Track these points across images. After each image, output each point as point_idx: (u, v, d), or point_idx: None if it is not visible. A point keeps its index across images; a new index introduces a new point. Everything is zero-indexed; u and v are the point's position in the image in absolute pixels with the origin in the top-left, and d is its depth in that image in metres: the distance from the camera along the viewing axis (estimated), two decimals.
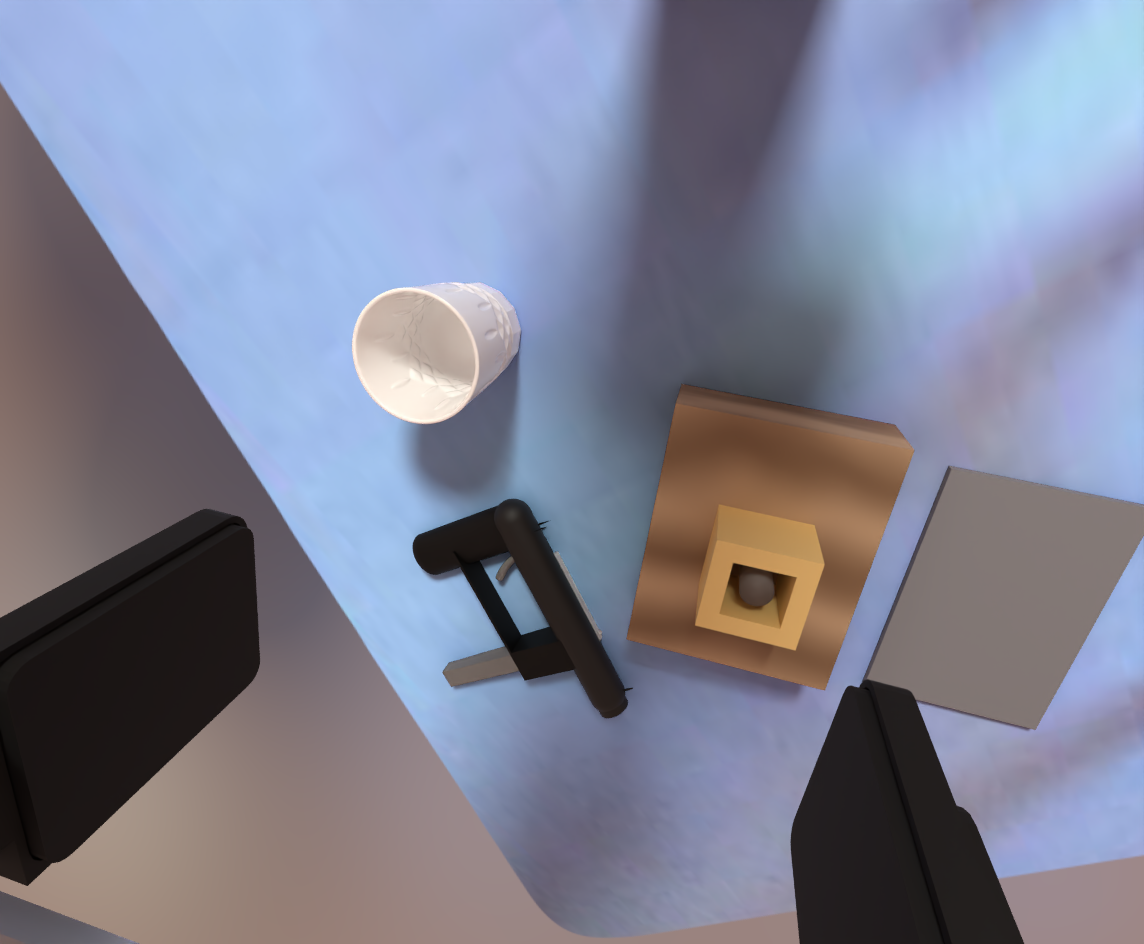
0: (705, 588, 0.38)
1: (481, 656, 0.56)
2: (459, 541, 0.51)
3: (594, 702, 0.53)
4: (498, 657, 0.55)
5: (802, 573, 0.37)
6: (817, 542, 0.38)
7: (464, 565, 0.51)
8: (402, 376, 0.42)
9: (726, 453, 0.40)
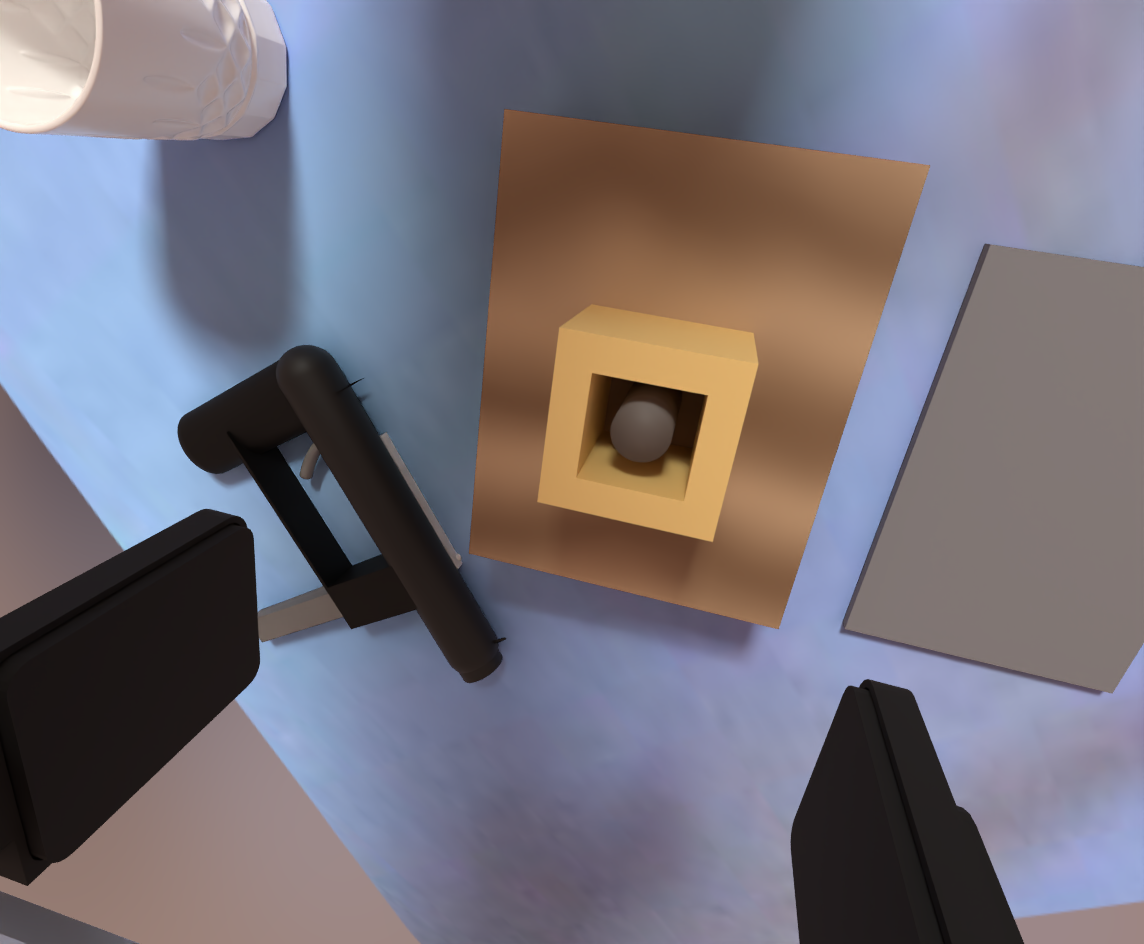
0: (548, 429, 0.21)
1: (299, 598, 0.39)
2: (232, 414, 0.33)
3: (448, 659, 0.36)
4: (317, 596, 0.38)
5: (718, 386, 0.19)
6: (752, 345, 0.21)
7: (246, 454, 0.34)
8: (48, 87, 0.24)
9: (596, 203, 0.23)
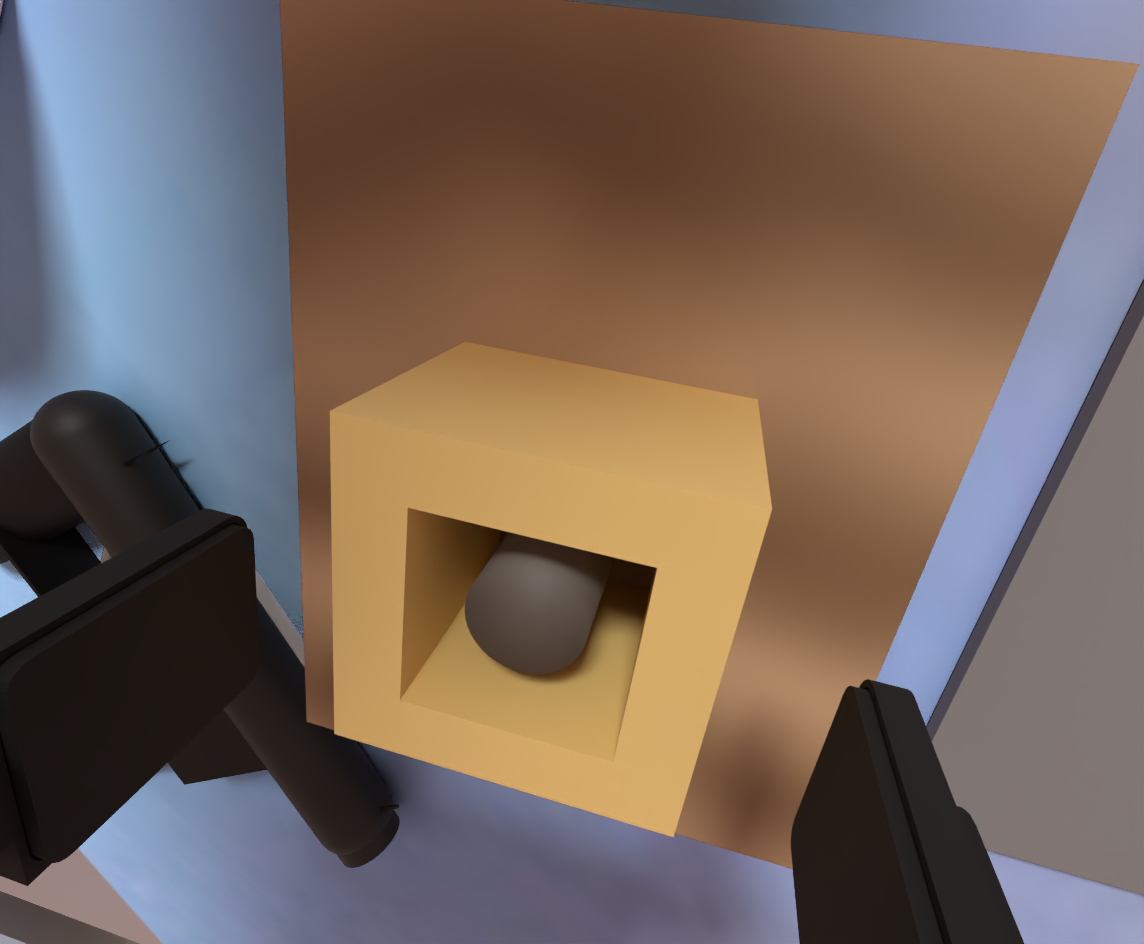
0: (336, 608, 0.10)
1: None
2: None
3: (316, 836, 0.25)
4: None
5: (679, 550, 0.08)
6: (757, 438, 0.10)
7: (15, 545, 0.23)
8: None
9: (462, 155, 0.12)
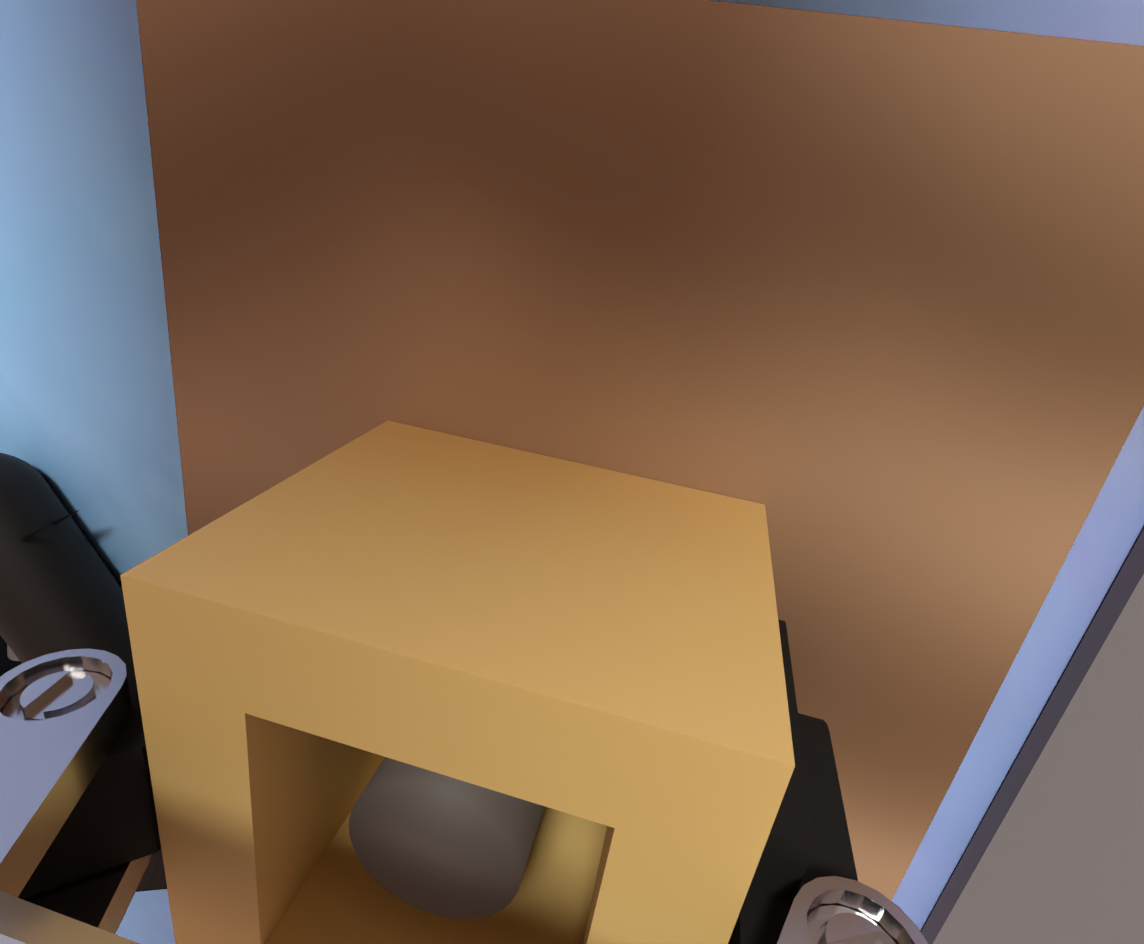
0: (164, 830, 0.07)
1: None
2: None
3: None
4: None
5: (647, 808, 0.05)
6: (766, 586, 0.07)
7: None
8: None
9: (375, 185, 0.09)
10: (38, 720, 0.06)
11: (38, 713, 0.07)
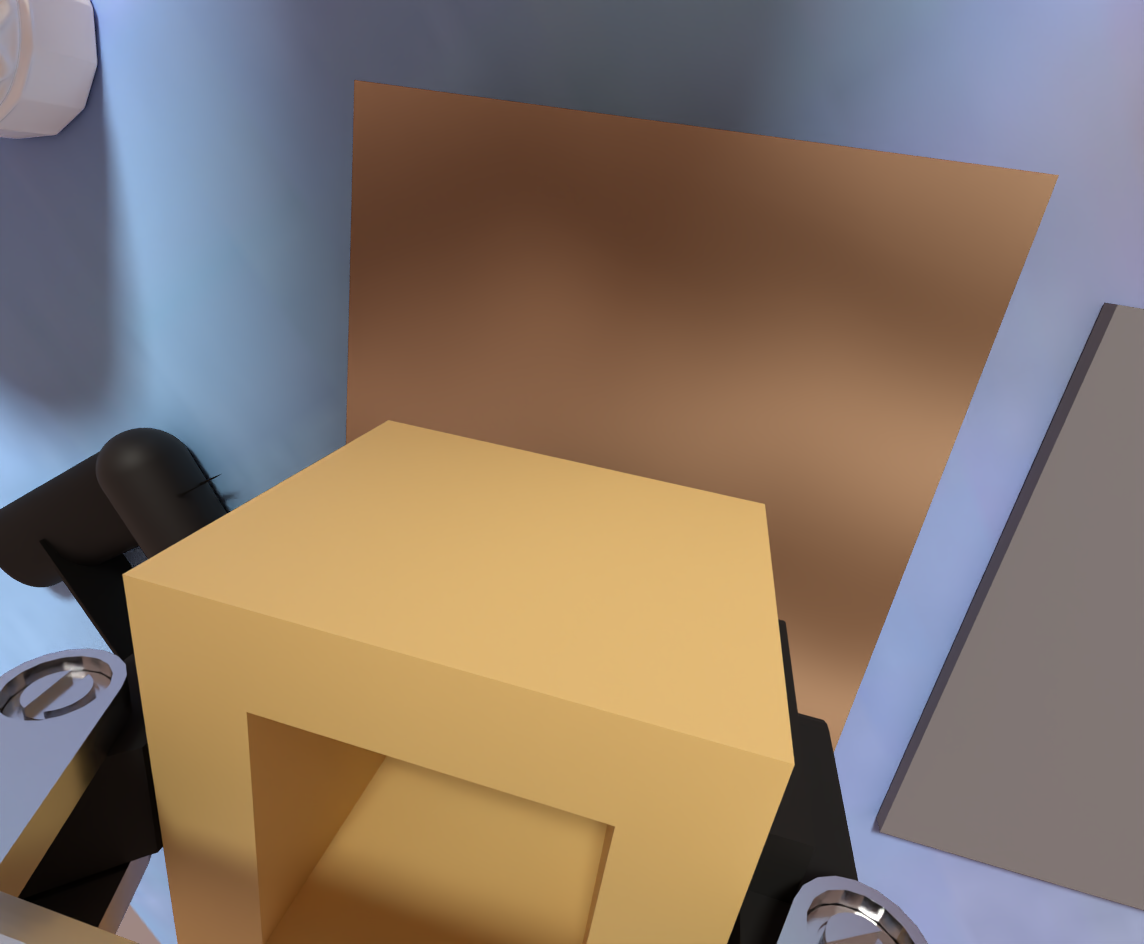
0: (166, 828, 0.07)
1: None
2: (46, 518, 0.24)
3: None
4: None
5: (647, 806, 0.05)
6: (765, 586, 0.07)
7: (69, 568, 0.25)
8: None
9: (503, 231, 0.14)
10: (38, 720, 0.06)
11: (38, 713, 0.07)
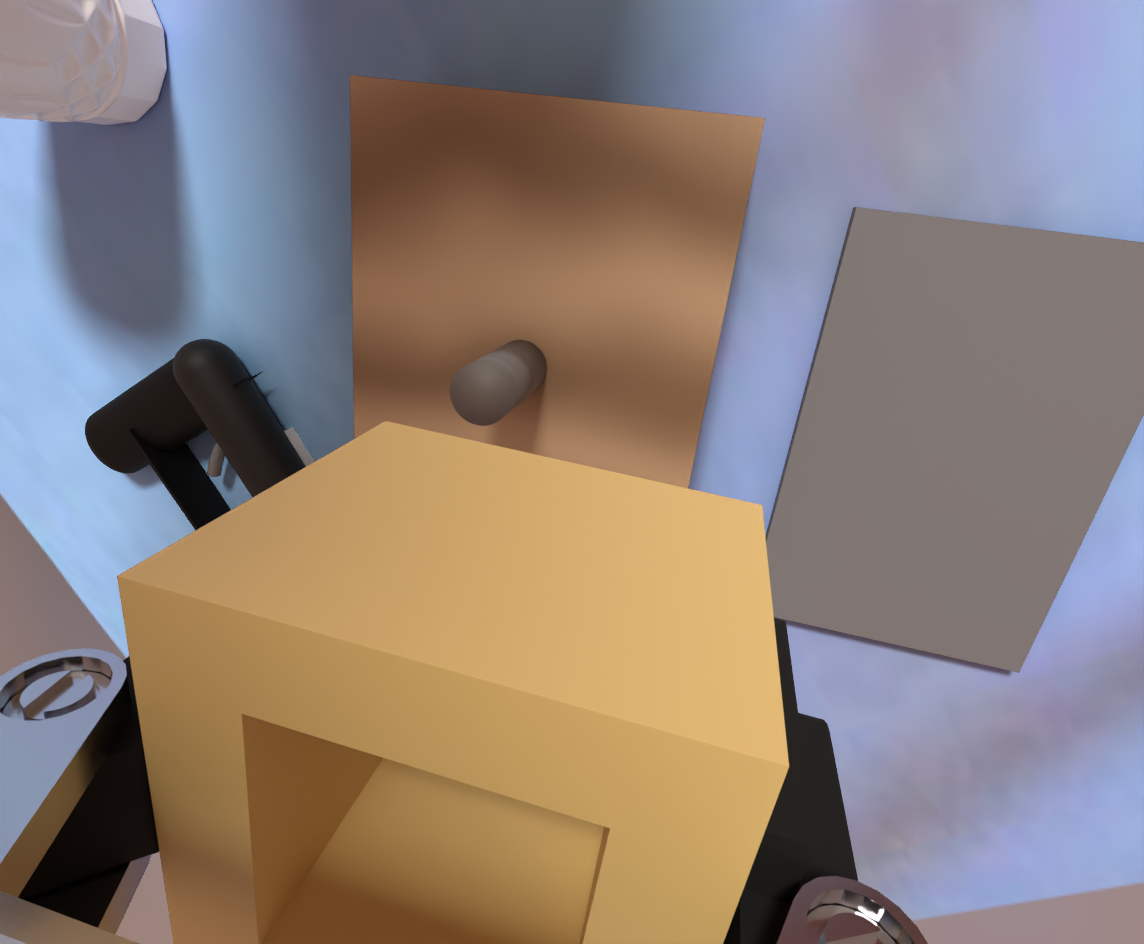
0: (162, 829, 0.07)
1: None
2: (134, 411, 0.33)
3: None
4: None
5: (642, 809, 0.05)
6: (762, 587, 0.07)
7: (151, 451, 0.34)
8: None
9: (447, 169, 0.23)
10: (38, 720, 0.06)
11: (38, 713, 0.07)
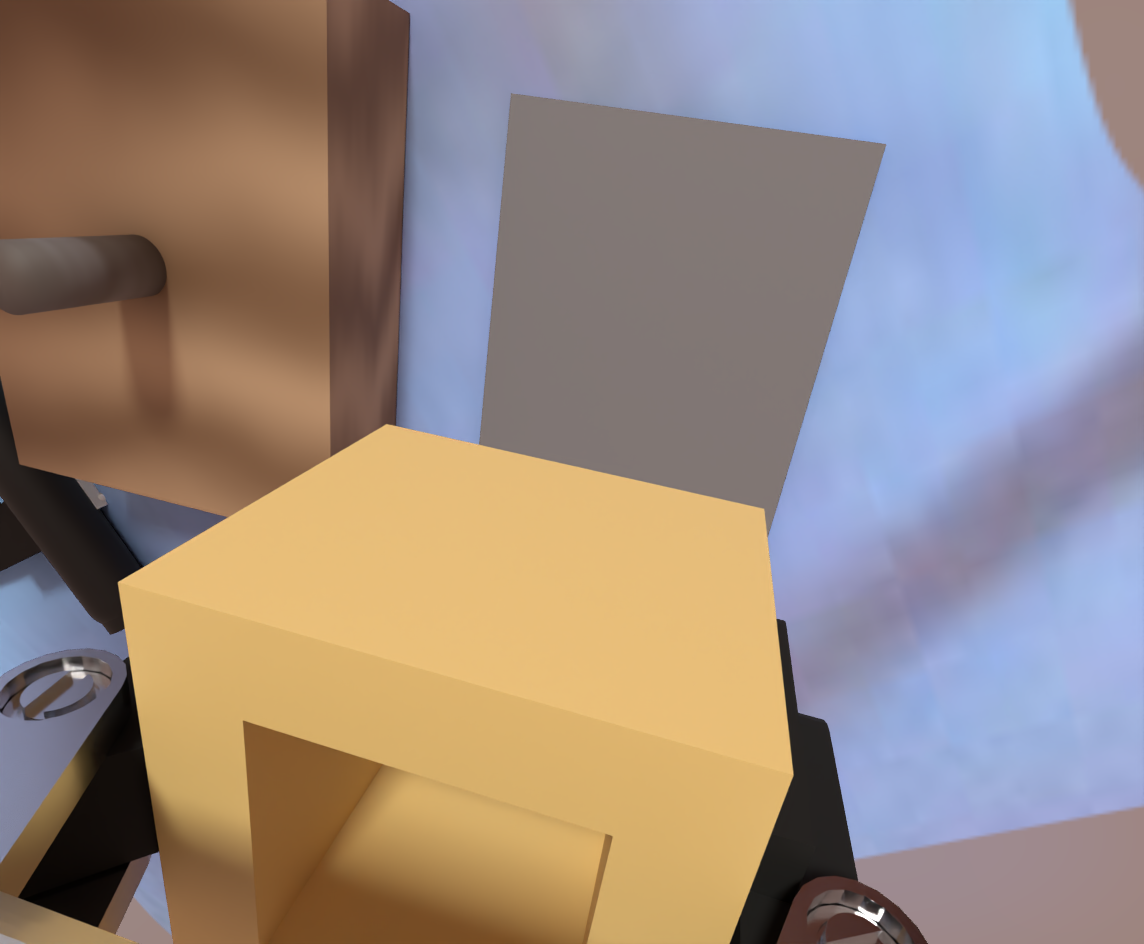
0: (163, 836, 0.07)
1: None
2: None
3: None
4: None
5: (645, 817, 0.05)
6: (764, 592, 0.07)
7: None
8: None
9: (20, 29, 0.20)
10: (38, 720, 0.06)
11: (38, 713, 0.07)
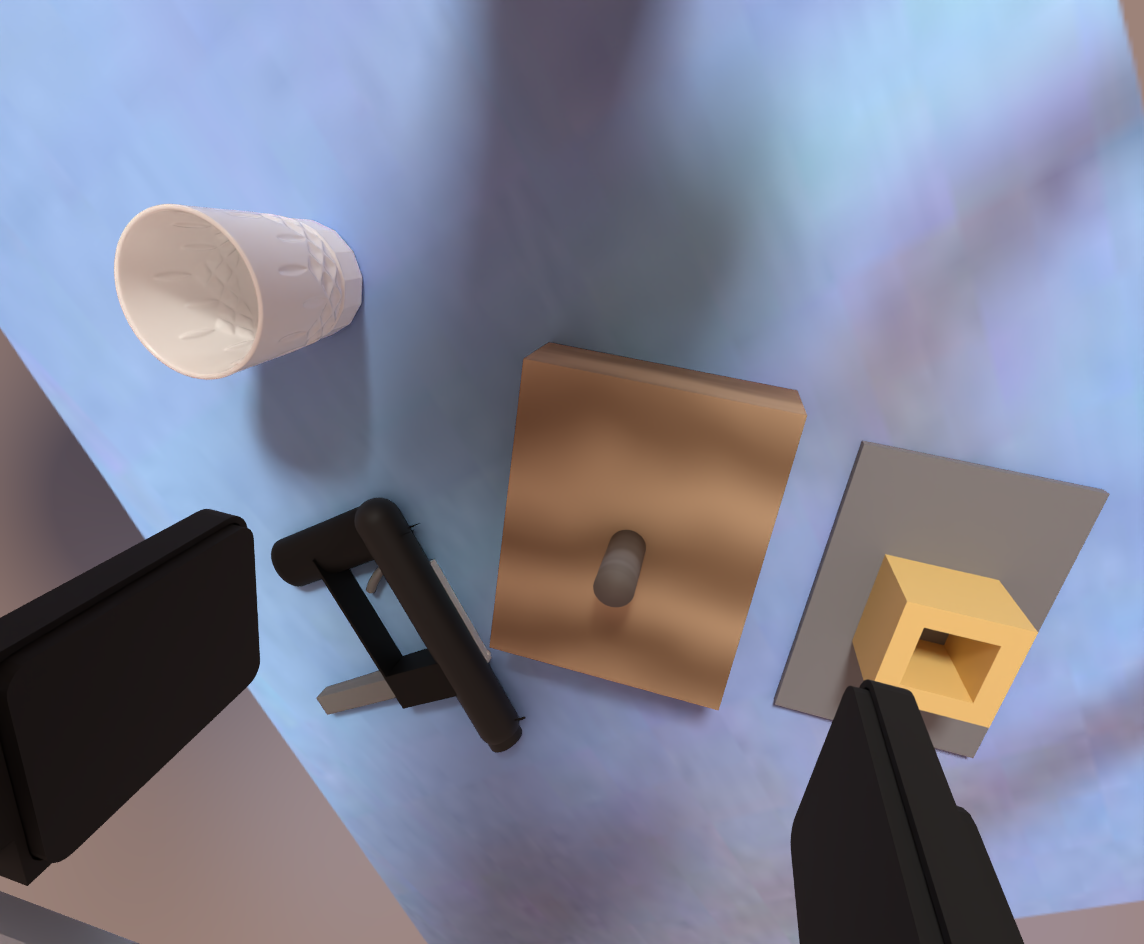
0: (886, 655, 0.33)
1: (359, 680, 0.49)
2: (318, 547, 0.43)
3: (480, 734, 0.45)
4: (375, 681, 0.48)
5: (1008, 641, 0.31)
6: (1014, 602, 0.33)
7: (326, 575, 0.44)
8: (201, 326, 0.35)
9: (586, 421, 0.33)
10: None
11: None
